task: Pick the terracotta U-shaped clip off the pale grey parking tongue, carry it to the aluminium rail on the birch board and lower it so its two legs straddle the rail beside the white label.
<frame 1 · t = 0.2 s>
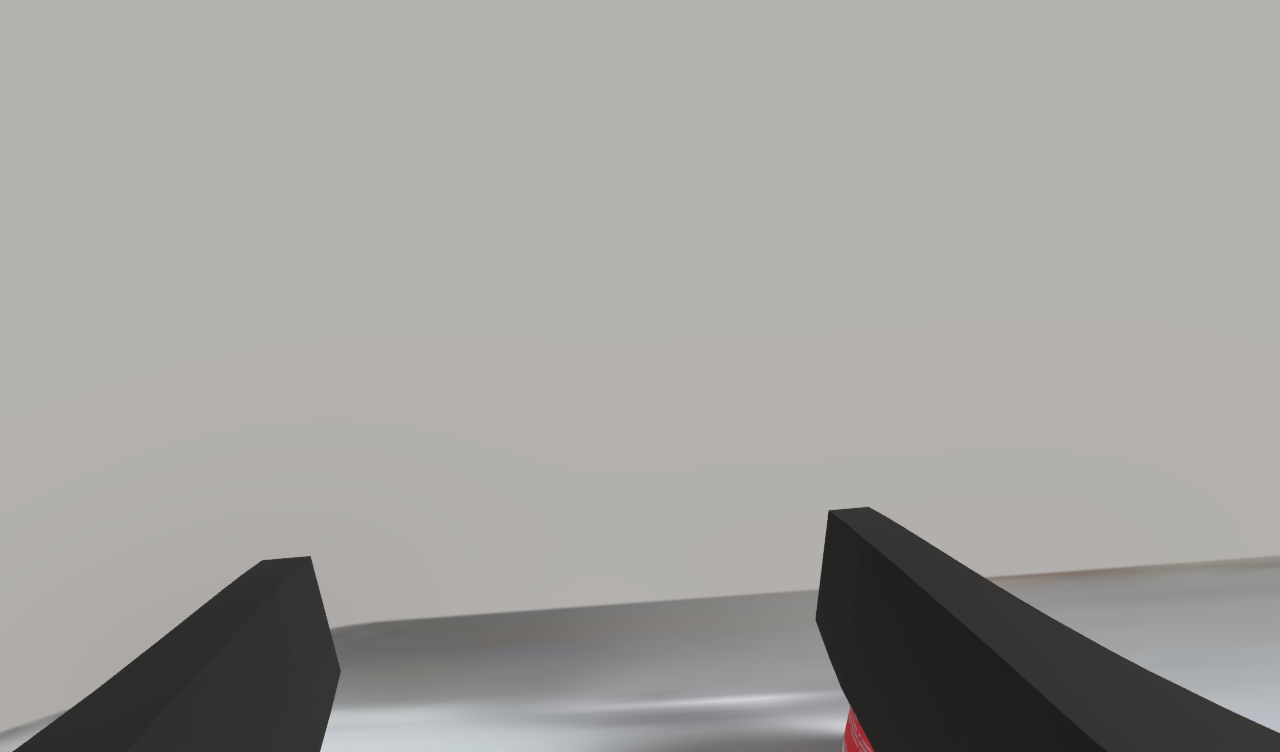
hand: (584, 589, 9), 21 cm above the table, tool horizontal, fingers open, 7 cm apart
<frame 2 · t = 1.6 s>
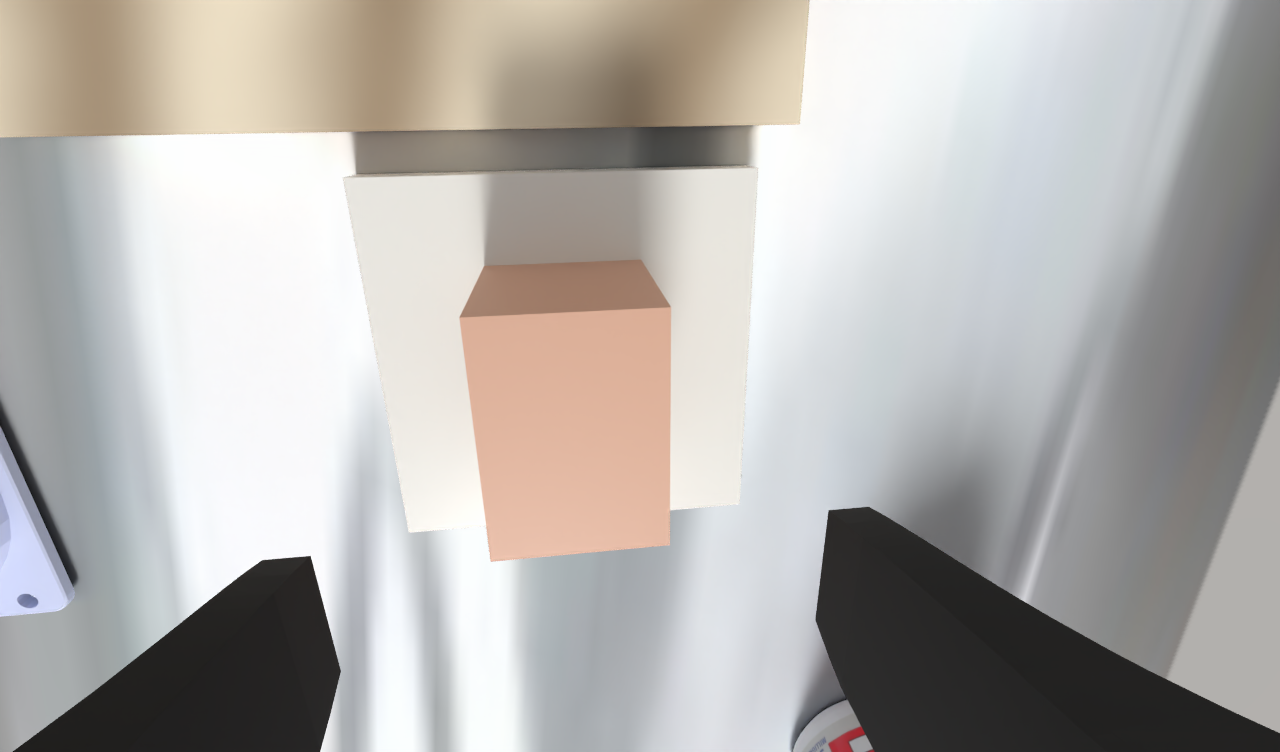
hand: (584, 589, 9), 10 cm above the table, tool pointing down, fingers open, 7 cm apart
pill bottle: (855, 736, 26), on the table
parking tongue: (569, 352, 18), on the table
clip: (569, 364, 17), point 1 cm above the table, touching parking tongue
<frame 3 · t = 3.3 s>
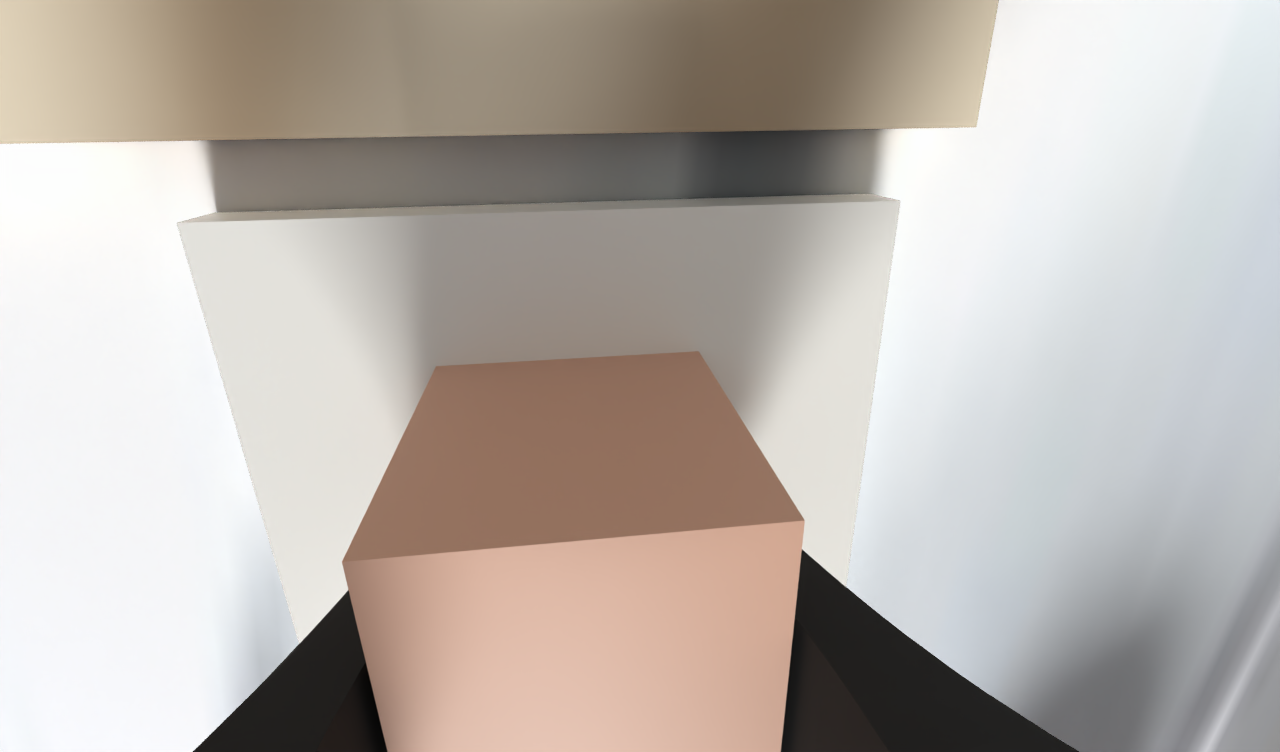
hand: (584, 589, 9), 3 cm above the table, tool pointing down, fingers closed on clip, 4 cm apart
parking tongue: (577, 481, 12), on the table
clip: (579, 512, 11), point 1 cm above the table, touching gripper, parking tongue
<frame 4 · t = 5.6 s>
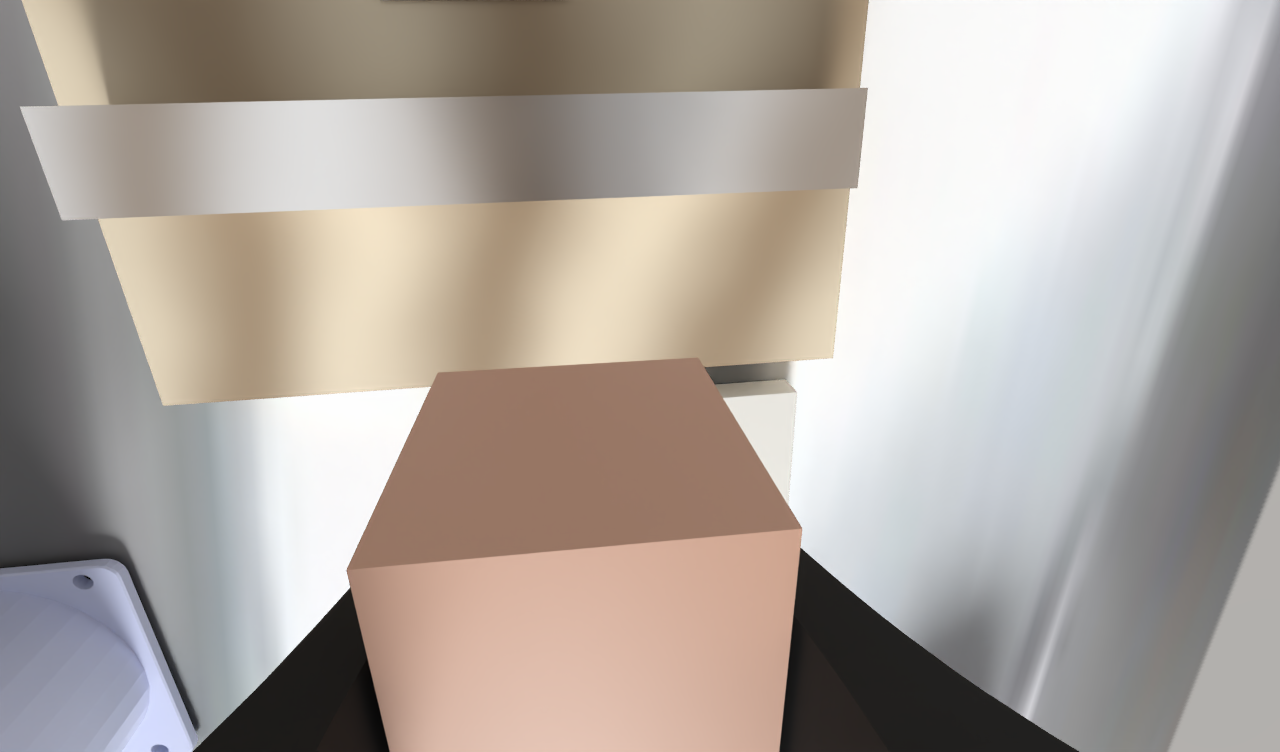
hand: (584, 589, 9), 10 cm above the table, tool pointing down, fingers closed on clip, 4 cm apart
parking tongue: (629, 530, 21), on the table
flange rail: (495, 145, 16), on the table
clip: (580, 516, 11), point 8 cm above the table, touching gripper
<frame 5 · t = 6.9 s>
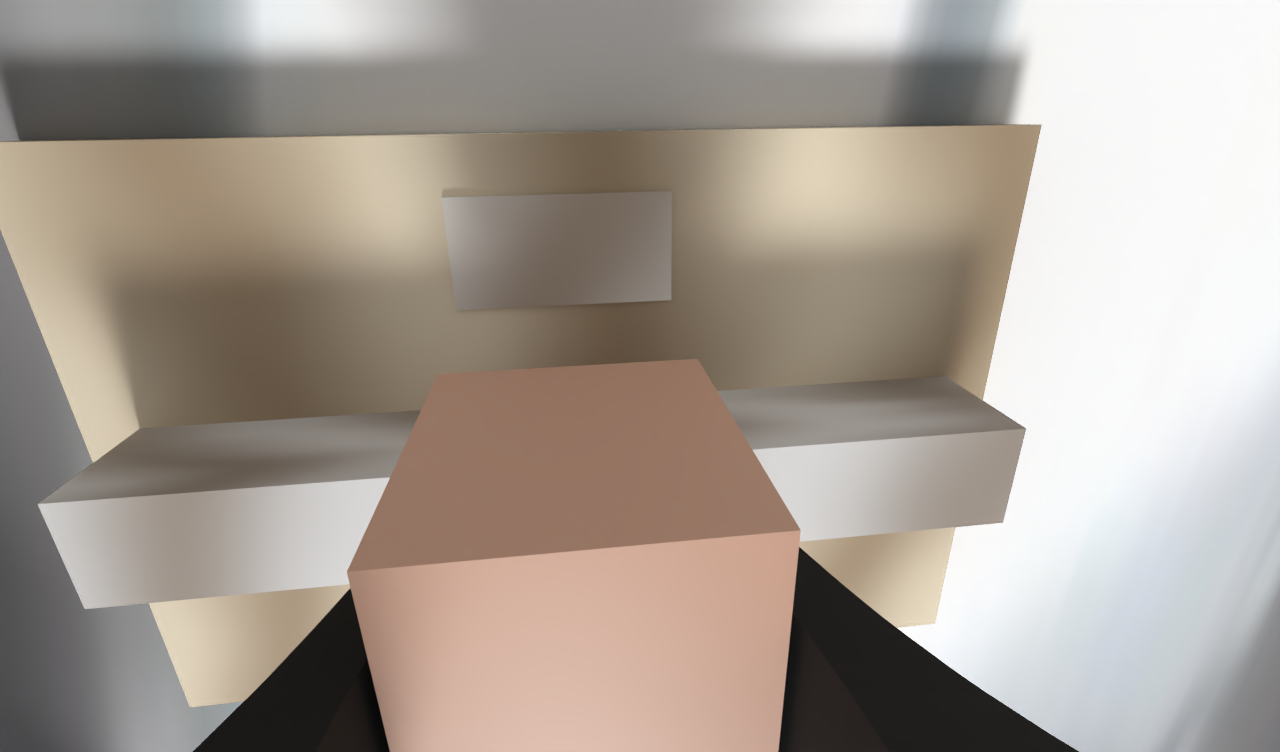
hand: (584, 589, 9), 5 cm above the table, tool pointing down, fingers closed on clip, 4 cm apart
flange rail: (572, 422, 14), on the table
clip: (579, 517, 11), point 3 cm above the table, touching gripper
when the fingers open (4 cm above the table, at t = 7.9 s): clip stays where it is, resting on flange rail.
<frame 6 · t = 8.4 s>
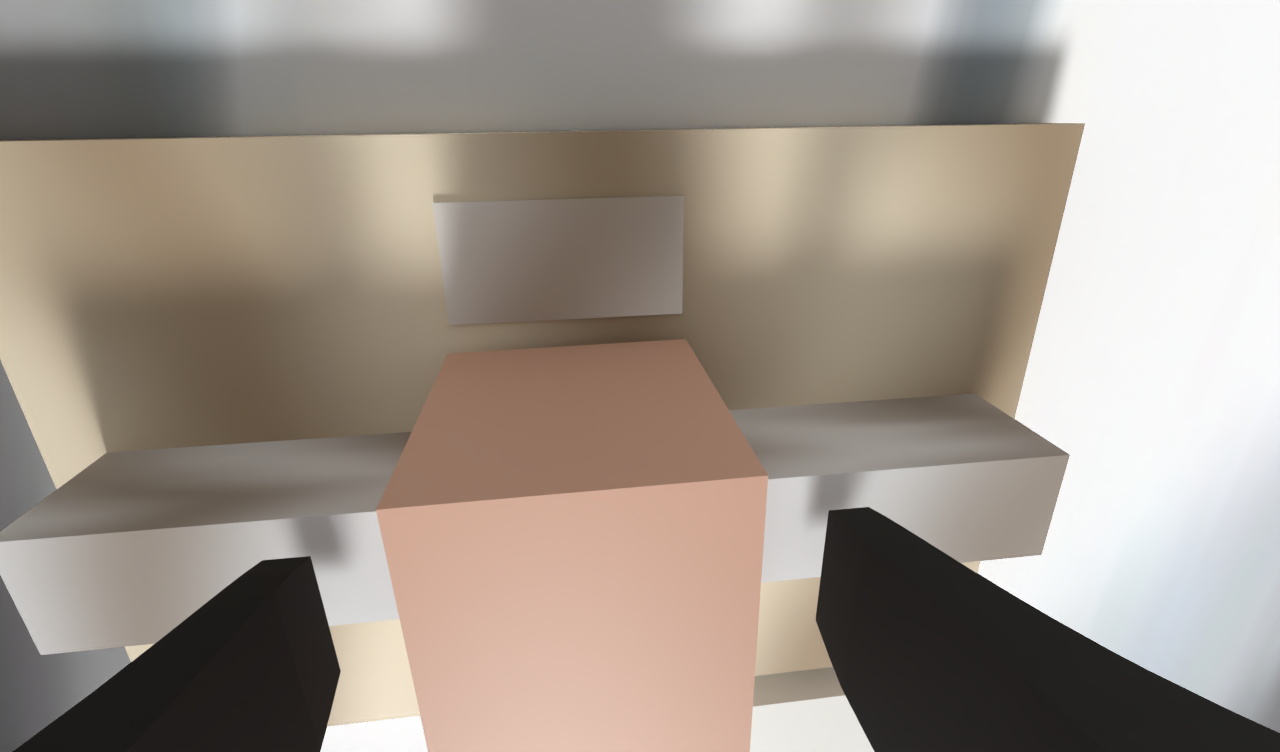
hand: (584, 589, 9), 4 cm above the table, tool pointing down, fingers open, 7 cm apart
flange rail: (575, 442, 13), on the table
clip: (578, 488, 12), point 1 cm above the table, touching flange rail
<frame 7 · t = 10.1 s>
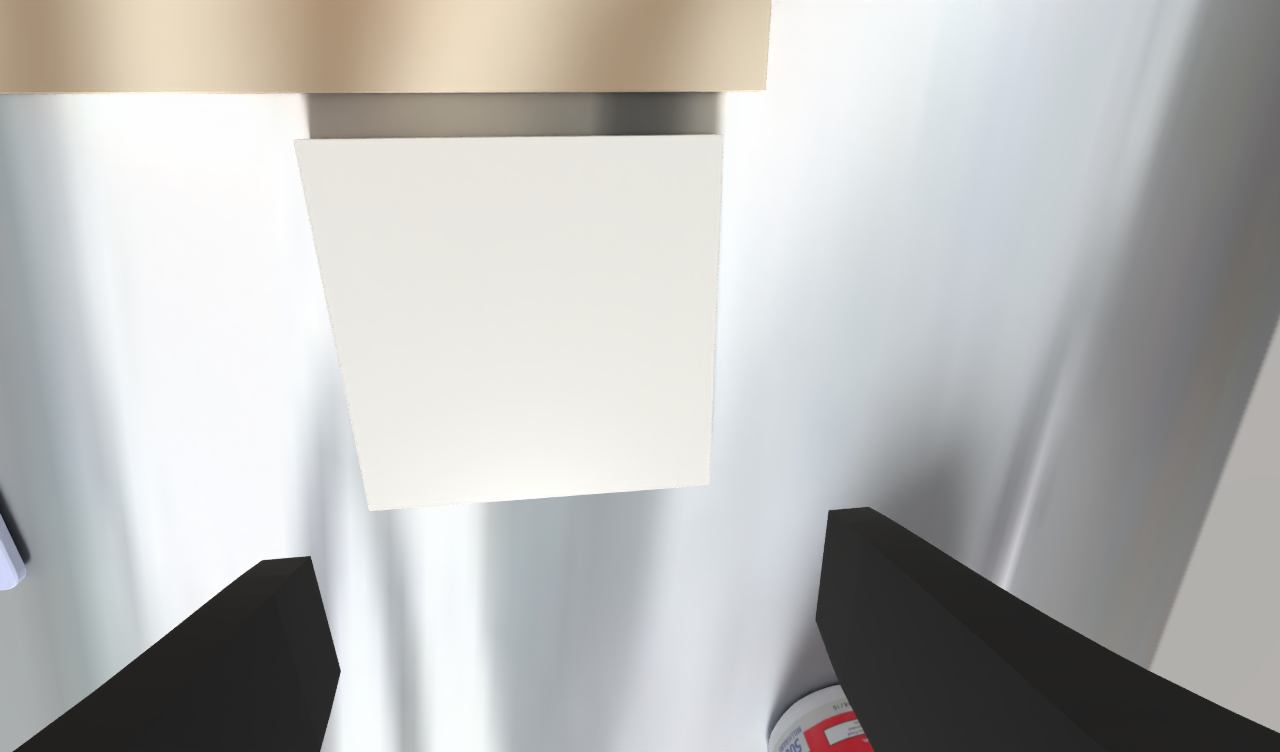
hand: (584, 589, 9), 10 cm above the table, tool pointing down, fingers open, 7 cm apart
pill bottle: (833, 727, 26), on the table
parking tongue: (533, 326, 18), on the table
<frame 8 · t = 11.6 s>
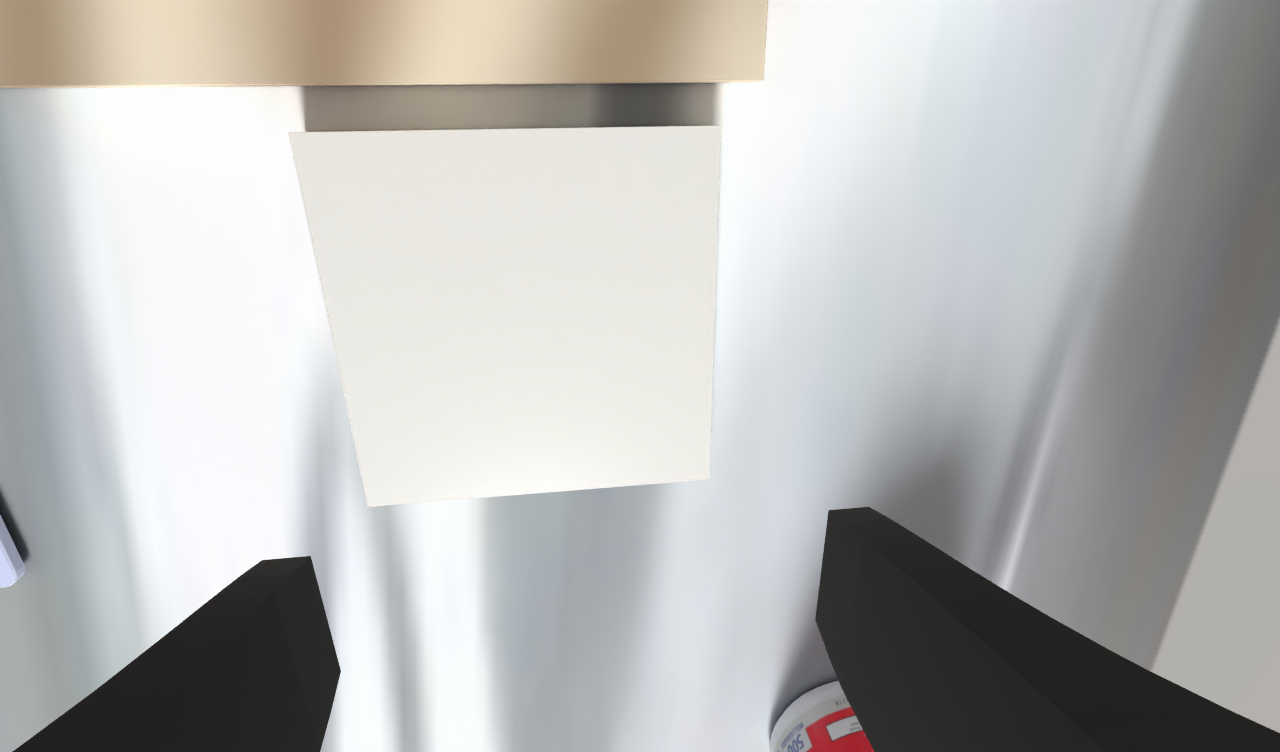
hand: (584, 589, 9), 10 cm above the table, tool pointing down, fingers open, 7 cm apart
pill bottle: (835, 723, 26), on the table
parking tongue: (531, 320, 17), on the table
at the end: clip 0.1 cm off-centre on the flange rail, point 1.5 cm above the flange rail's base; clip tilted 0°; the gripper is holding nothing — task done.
